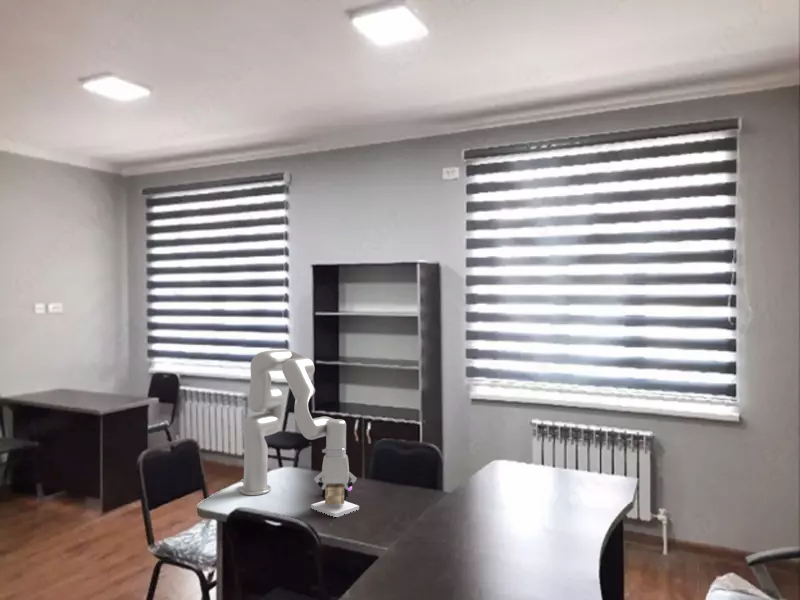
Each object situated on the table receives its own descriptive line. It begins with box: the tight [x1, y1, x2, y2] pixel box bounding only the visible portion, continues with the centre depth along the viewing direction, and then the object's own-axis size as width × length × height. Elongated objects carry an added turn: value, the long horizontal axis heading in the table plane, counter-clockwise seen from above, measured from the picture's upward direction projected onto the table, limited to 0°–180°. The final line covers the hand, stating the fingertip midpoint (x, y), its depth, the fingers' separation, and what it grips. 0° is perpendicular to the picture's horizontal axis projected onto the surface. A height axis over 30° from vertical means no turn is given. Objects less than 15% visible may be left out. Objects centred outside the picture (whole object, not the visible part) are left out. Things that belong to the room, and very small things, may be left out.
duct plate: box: [310, 499, 360, 518], centre depth 216 cm, size 14×12×7 cm
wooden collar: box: [325, 484, 345, 504], centre depth 216 cm, size 7×7×6 cm
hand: (335, 498), depth 216 cm, fingers closed on wooden collar, 7 cm apart
